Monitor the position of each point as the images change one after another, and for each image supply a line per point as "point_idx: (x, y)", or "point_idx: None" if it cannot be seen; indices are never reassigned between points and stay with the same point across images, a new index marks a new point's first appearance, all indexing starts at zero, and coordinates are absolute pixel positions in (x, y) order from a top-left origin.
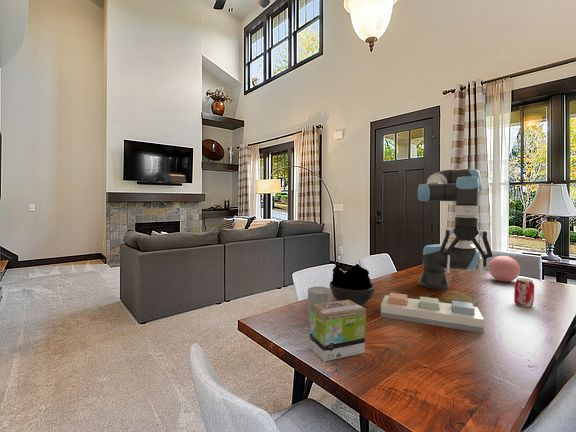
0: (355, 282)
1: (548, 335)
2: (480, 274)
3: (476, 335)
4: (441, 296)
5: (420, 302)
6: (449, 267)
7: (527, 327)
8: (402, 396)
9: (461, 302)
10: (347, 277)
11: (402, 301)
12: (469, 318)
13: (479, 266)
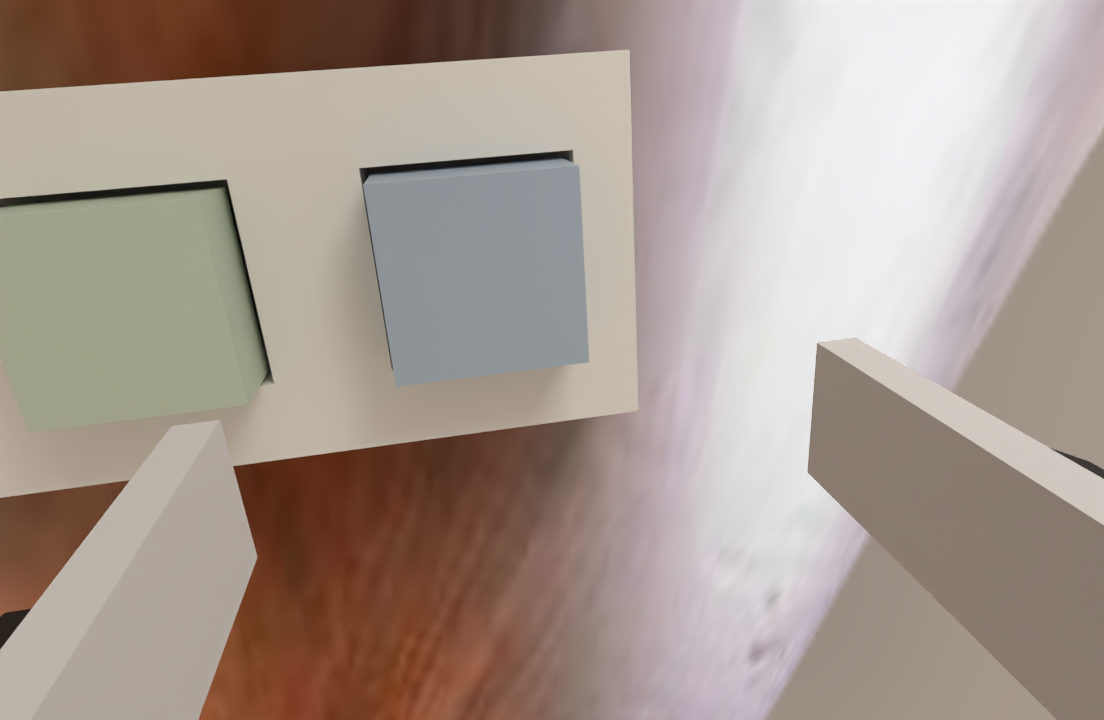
0: None
1: (1022, 167)
2: (819, 483)
3: (562, 433)
4: None
5: (45, 427)
6: (224, 644)
7: (948, 57)
8: None
9: (469, 213)
10: None
11: None
12: (532, 420)
13: (922, 413)
